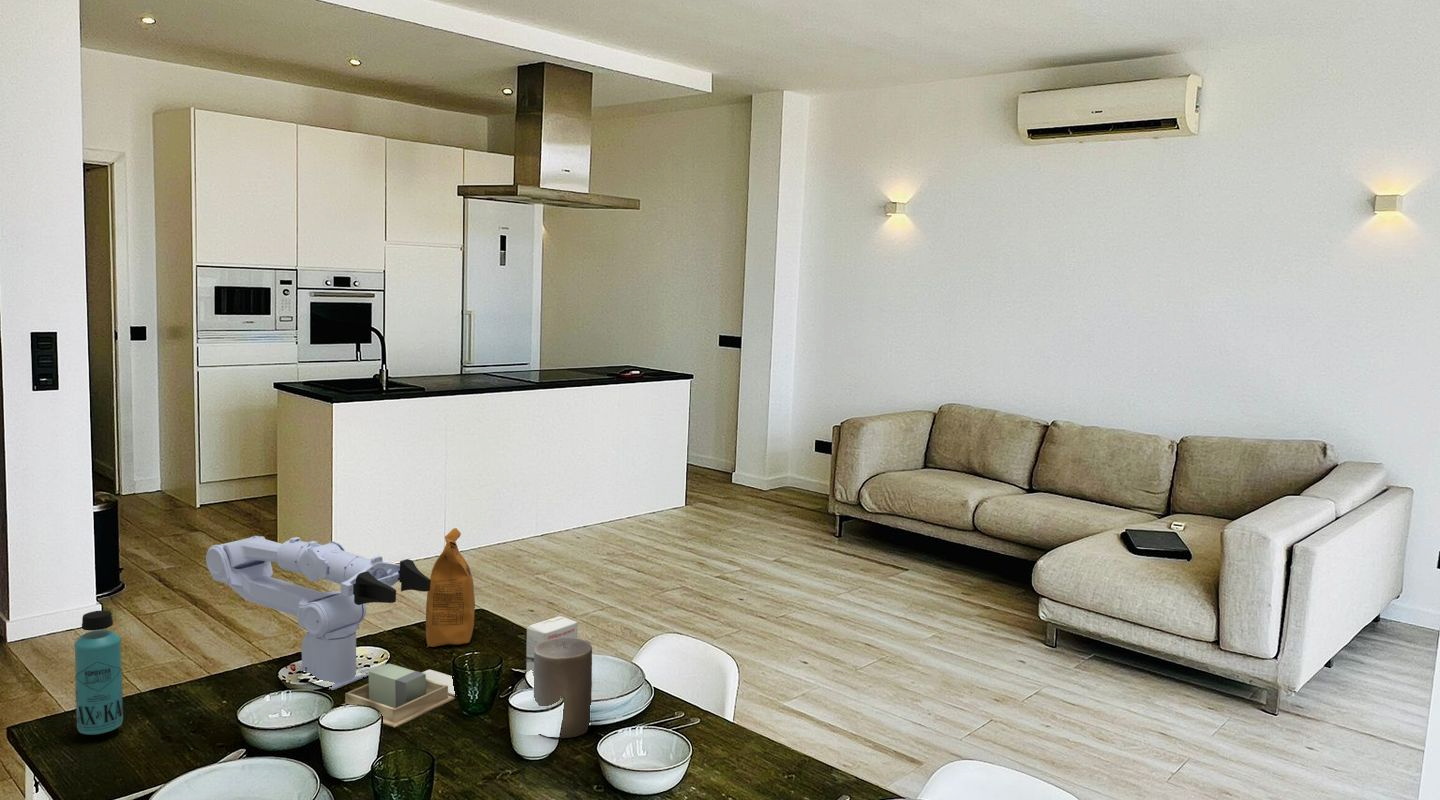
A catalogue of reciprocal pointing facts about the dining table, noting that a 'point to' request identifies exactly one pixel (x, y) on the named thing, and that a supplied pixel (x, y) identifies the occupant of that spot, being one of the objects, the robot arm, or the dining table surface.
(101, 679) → the beverage bottle
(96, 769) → the dining table surface
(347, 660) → the robot arm
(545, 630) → the ink box
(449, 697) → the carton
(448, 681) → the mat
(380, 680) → the box
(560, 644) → the pillar candle
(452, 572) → the coffee package
